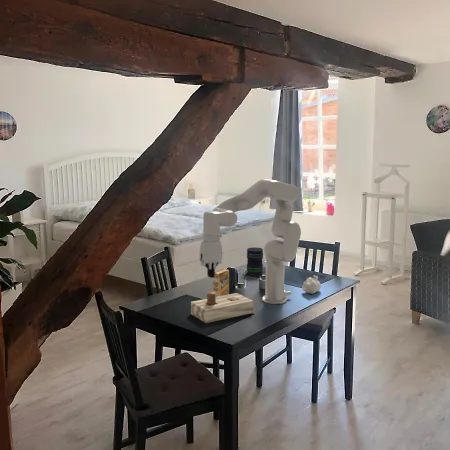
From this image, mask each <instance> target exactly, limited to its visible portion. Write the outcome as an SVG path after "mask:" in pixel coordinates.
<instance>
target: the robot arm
mask: <svg viewBox="0 0 450 450" xmlns="http://www.w3.org/2000/svg"><path fill="white" fill-rule="evenodd" d="M299 197H300V190H299V187H298V186H296V185H295V184H290V183H286V182H282V181H279V180H274V179H265V178H262V179H259V180H257V181H256V182H255V183H253V185H251V186H250V187H249V188H247V189H246V190H245V191H243V192H242V193H239V194H238V195H236V196H233V197H230V198H228V199H226V200H224V201H222V202H221V203H220V204H219V205H217V206H216V207H214V208H213V210H207V211H205V212H203V220H202V221H203V229H202V230H203V232H202V233H203V235H202V237H203V239H202V241H201V242H200V246H199V247H200V248H199V257H198V259H199V262H200V266H202V267H205V268H206V269H207V277H209V278H212V279H213V278H214V275H215V272H216V271H215V270H216V268H217V267H218V265H221V264H222V260H223V246H222V241H221V238H222V237H223V236H222V234H220V232H221V230H220V229H221V227H222V228H223V227H226V228H229V227H230V228H231V227H233V226H235V225H236V224H237V222H238V216H237V214H236V213H237V212H239V211H241V212H242V211H248V210H250V209H254V207H256V206H257V205H258V204H259V203H261V202H262V201H263V200H265V198H271V199H272V200H273V202H274V204H275V212H274V217H273V222H272V226H271V234H272V235H273V236H274V237H275V238H279V239H283V240H279V239H269V240H267V241H266V243H265V244H264V248H263V254H264V258H265V286H264V287H265V288H264V289H265V290H264V291H265V295H263V296H262V297H261V299H262V302H264V303H266V304H270V305H271V304H272V305H280V304H281V305H282V304H286V302H287V301H288V298H287V296H290V295H292V291H290V290H289V291H287V290H285V273H286V272H285V267H286V266H285V263H291V262H292V261H294V260H295V258H296V256H297V253H298V248H299V244H300V239H301V235H302V230H301V227H300V224H299V223H298V222H296V221H293V220H292V217H293V210H294V209H293V203H294V202H296V201H297V200H298V199H299Z"/></svg>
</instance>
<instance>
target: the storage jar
mask: <svg viewBox="0 0 450 450" xmlns="http://www.w3.org/2000/svg"><path fill="white" fill-rule="evenodd" d="M246 250H247V251H246V258H247V261H246V263H247V264H246V274H247V275H250V276H261V275H262V274H263V270H264V264H263V259H264V248H261V247H248V248H247V249H246Z"/></svg>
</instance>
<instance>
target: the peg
mask: <svg viewBox="0 0 450 450" xmlns="http://www.w3.org/2000/svg"><path fill="white" fill-rule="evenodd" d="M206 299H207V305H209V306H211V305H216V293H215V292H213V291H208V292H207V293H206Z"/></svg>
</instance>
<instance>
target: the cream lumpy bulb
mask: <svg viewBox="0 0 450 450" xmlns="http://www.w3.org/2000/svg"><path fill="white" fill-rule="evenodd" d="M318 279H319V277H318V276H317V275H315V274H314V275H313V276H312V277H306V279H305V280H304V281H303V283H302V285H301V290H302V291H303V292H305V293H306V294H309V293H310V295H314V294H315V293H317V292H319V291H320V290H321V286H322V285H321V282H320V281H319V280H318ZM313 293H314V294H313Z"/></svg>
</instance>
